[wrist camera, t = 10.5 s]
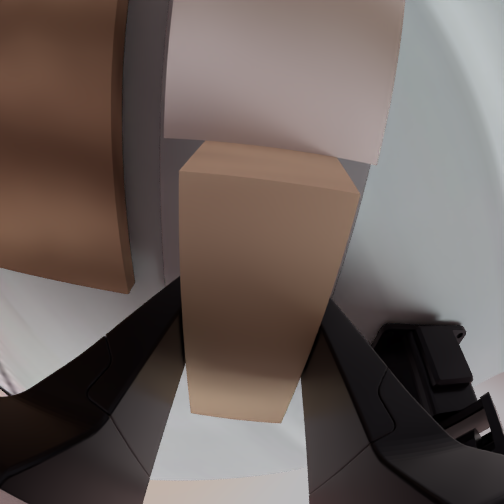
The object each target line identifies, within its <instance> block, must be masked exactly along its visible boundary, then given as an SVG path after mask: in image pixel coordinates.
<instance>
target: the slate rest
mask: <svg viewBox="0 0 504 504" xmlns="http://www.w3.org/2000/svg"><path fill="white" fill-rule="evenodd" d="M172 8H173V0H169V6H168V15H167V24H166V34H165V45H164V57H163V71H162V89H161V113H160V204H161V230H162V248H163V263H164V277H165V287H166V286H167V285H168V284H170V283H171V282H172V281H173V280H175V279H176V278H177V277H179V276H180V254H179V170H180V169H181V168H182V167H183V166H184V164H185V163H186V162H187V161H188V160H189V159H190V157H191V156H192V155H193V154H194V153H195V152H196V151H197V149H198V148H199V147H200V146H201V145H202V144H203V143H204V142H205V140H191V139H174V138H164V111H165V89H166V72H167V59H168V46H169V35H170V26H171V16H172ZM338 160H339V161H340V163H341V164H342V166H343V168H344V169H345V171H346V172H347V174H348V175H349V177H350V178H351V180H352V181H353V183H354V185H355V186H356V188H357V189H358V191H359V192H360V198H359V202H358V206H357V209H356V213H355V217H354V220H353V224H352V227H351V231H350V234H349V238H348V241H347V245H346V248H345V251H344V254H343V258H342V261H341V264H340V267H339V271H338V274H337V277H336V280H335V283H334V286H333V289H332V292H331V295H330V298H331V299H332V296H333V293H334V290H335V287H336V284H337V281H338V278H339V275H340V272H341V269H342V266H343V262H344V259H345V256H346V253H347V249H348V246H349V243H350V239H351V236H352V233H353V229H354V226H355V222H356V219H357V215H358V212H359V208H360V204H361V200H362V197H363V193H364V189H365V185H366V181H367V177H368V173H369V169H370V165H371V164H368V163H363V162H358V161H353V160H348V159H343V158H338Z"/></svg>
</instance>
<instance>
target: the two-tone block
mask: <svg viewBox="0 0 504 504" xmlns="http://www.w3.org/2000/svg"><path fill="white" fill-rule="evenodd" d="M404 6H405V0H173V8H172V16H171V26H170V35H169V46H168V59H167V72H166V89H165V111H164V138H174V139H191V140H205V142H204V143H203V144H202V145H201V146H200V147H199V148H198V149H197V151H196V152H195V153H194V154H193V155H192V156H191V157H190V159H189V160H188V161H187V162H186V163H185V164H184V166H183V167H182V168H181V169H180V170H179V254H180V282H181V302H182V319H183V334H184V347H185V359H186V371H187V381H188V391H189V400H190V409H191V413H194V414H200V415H207V416H213V417H221V418H228V419H237V420H246V421H257V422H269V423H281V422H282V420H283V417H284V415H285V413H286V410H287V408H288V406H289V403H290V401H291V399H292V396H293V394H294V392H295V389H296V387H297V384H298V382H299V379H300V377H301V374H302V372H303V369H304V367H305V364H306V362H307V359H308V356H309V354H310V351H311V349H312V346H313V343H314V340H315V338H316V335H317V332H318V330H319V327H320V324H321V321H322V318H323V316H324V313H325V310H326V307H327V304H328V301H329V298H330V295H331V292H332V289H333V286H334V283H335V280H336V277H337V274H338V271H339V267H340V264H341V261H342V258H343V254H344V251H345V248H346V245H347V241H348V238H349V234H350V231H351V227H352V224H353V220H354V217H355V213H356V209H357V206H358V202H359V198H360V192H359V191H358V189H357V188H356V186H355V185H354V183H353V181H352V180H351V178H350V177H349V175H348V174H347V172H346V171H345V169H344V168H343V166H342V164H341V163H340V161H339V160H338V158H343V159H348V160H353V161H358V162H363V163H368V164H373V165H377V162H378V158H379V154H380V149H381V145H382V141H383V136H384V132H385V127H386V122H387V117H388V113H389V107H390V102H391V97H392V92H393V86H394V80H395V74H396V68H397V62H398V55H399V48H400V41H401V33H402V25H403V16H404Z"/></svg>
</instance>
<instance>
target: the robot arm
mask: <svg viewBox="0 0 504 504" xmlns="http://www.w3.org/2000/svg"><path fill="white" fill-rule="evenodd" d="M465 335H466V331H465V329H464V327H463V326H446V325H413V324H386V325H384V326H383V327H382V328H381V329H380V331H379V333H378V334H377V336H376V338H375V340H374V342H373V344H372V346H370V345H369V343H368V342H367V341H366V340H365V339H364V337H363V336H362V335H361V334H360V332H359V331H358V330H357V329H356V328H355V326H354V325H353V324H352V323H351V322H350V320H349V319H348V318H347V317H346V315H345V314H344V313H343V312H342V311H341V309H340V308H339V307H338V306H337V305H336V303H335V302H334V301H333V300H332V299H331V298H329V301H328V304H327V307H326V310H325V313H324V316H323V318H322V321H321V324H320V327H319V330H318V332H317V335H316V338H315V340H314V343H313V346H312V349H311V351H310V354H309V356H308V359H307V362H306V364H305V367H304V369H303V372H302V374H301V385H302V397H303V409H304V422H305V436H306V450H307V466H308V483H309V494H310V495H309V504H504V430H503V427H502V424H501V421H500V419H499V415H498V413H497V410H496V408H495V405H494V403H493V401H492V398H491V396H490V394H489V392H487V393H486V394H484V395H483V396H481V397H480V398H481V399H479V400H477V398H476V395H475V392H474V390H473V387H472V385H471V382H472V381H473V376H472V373H471V371H470V368H469V366H468V364H467V361H466V359H465V357H464V355H463V352H462V350H461V348H460V346H459V344H460V342H461V341H462V339H463V338H464V336H465ZM185 363H186V359H185V347H184V334H183V319H182V302H181V282H180V276H179V277H177V278H176V279H175V280H173V281H172V282H171V283H170V284H168V285H167V286H166V287H165V288H163V289H162V290H161V291H160V292H158V293H157V294H156V295H154V296H153V297H152V298H151V299H149V300H148V301H147V302H146V303H144V304H143V305H142V306H141V307H139V308H138V309H137V310H136V311H134V312H133V313H132V314H131V315H129V316H128V317H127V318H126V319H124V320H123V321H122V322H121V323H120V324H118V325H117V326H116V327H115V328H113V329H112V330H111V331H110V332H108V333H107V334H106V337H105V336H103V337H102V338H101V339H100V340H98V341H97V342H96V343H95V344H94V345H92V346H91V347H90V348H88V349H87V350H86V351H85V352H83V353H82V354H81V355H79V356H78V357H76V358H75V359H73V360H72V361H71V362H69V363H68V364H66V365H65V366H63V367H62V368H60V369H59V370H57V371H56V372H54V373H53V374H51V375H50V376H48V377H47V378H45V379H43V380H42V381H40V382H39V383H37V384H36V385H34V386H33V387H31V388H30V389H28V390H26V391H24V392H22V393H19V394H16V395H12V396H3V397H0V504H143V500H144V496H145V493H146V489H147V486H148V483H149V480H150V478H149V477H150V476H151V472H152V469H153V466H154V462H155V459H156V456H157V452H158V449H159V446H160V442H161V439H162V436H163V432H164V429H165V426H166V423H167V419H168V416H169V413H170V410H171V407H172V404H173V400H174V397H175V394H176V391H177V388H178V385H179V382H180V378H181V375H182V372H183V369H184V366H185ZM489 427H490V429H491V432H489V433H488V434H486V435H484V436H482V437H481V436H480V434H479V433H481V432H482V431H484V430H486V429H488V428H489Z"/></svg>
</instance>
